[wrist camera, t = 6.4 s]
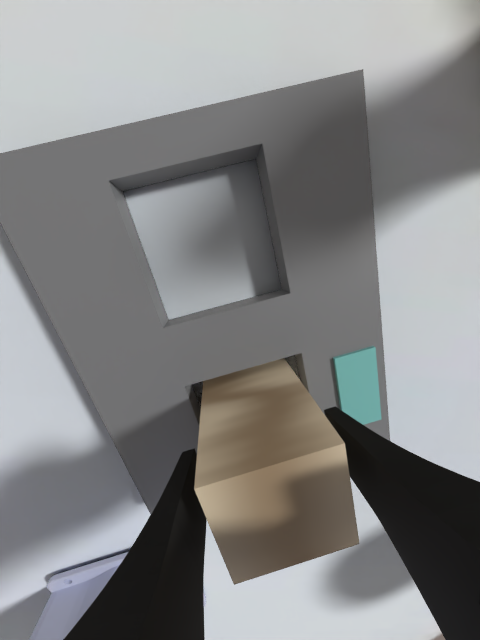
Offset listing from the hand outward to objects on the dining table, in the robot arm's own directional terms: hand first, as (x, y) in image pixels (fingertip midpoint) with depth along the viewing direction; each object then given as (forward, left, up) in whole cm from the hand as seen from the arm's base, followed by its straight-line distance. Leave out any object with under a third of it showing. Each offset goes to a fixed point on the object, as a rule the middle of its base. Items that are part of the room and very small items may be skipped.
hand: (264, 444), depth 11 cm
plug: (0, 0, -3) cm, 4 cm away
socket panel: (0, +5, -3) cm, 6 cm away
